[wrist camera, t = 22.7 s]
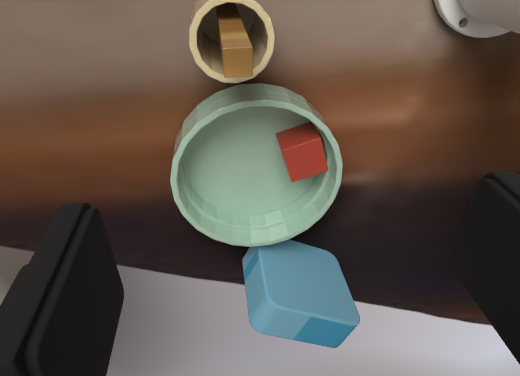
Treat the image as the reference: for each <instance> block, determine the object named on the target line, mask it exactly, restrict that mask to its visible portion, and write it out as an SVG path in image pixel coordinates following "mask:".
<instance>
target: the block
mask: <svg viewBox="0 0 520 376" xmlns="http://www.w3.org/2000/svg"><path fill="white" fill-rule="evenodd" d="M276 136H277V140H278V143H279V146H280V149H281V152H282V155H283V158H284V161H285V165H286V167H287V170H288V173H289V176H290V179H291V182H295V181H298V180H301V179H304V178H307V177H311V176H314V175H317V174H320V173H323V172H326V171H329V169H328V165H327V161H326V157H325V153H324V149H323V145H322V141H321V137H320V136H319V134H318V132H317V130H316V128H315V127H314V125H313V123H312V122H308V123H305V124H302V125H299V126H296V127H293V128H290V129H287V130H284V131H281V132H278V133H276Z"/></svg>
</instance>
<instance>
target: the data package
mask: <svg viewBox="0 0 520 376" xmlns="http://www.w3.org/2000/svg"><path fill="white" fill-rule="evenodd" d="M242 262H243V271H244V280H245V289H246V298H247V306H248V314H249V315H248V316H249V321H250V323H251V325H252V327H253V328H254V329H255V330H257V331H258V332H260V333H262V334H267V335H272V336H277V337H282V338H287V339H292V340H297V341H302V342H307V343H312V344H317V345H321V346H326V347H332V348H336V347H338V346H339V345H340V344H341V343H342V342H343V341H344V340H345V339H346V338H347V336H348V335H349V334H350V333H351V332H352V331H353V330H354V328H355V327H356V326H357V325H358V324H359V321H360V316H359V314H358V311H357V309H356V306H355V303H354V301H353V298H352V296H351V293H350V291H349V288H348V286H347V283H346V281H345V278H344V276H343V273H342V271H341V268H340V266H339V263H338V261H337V259H336V258H335V256H334V255H333V254H331V253H330V252H328V251H326V250H323V249H320V248H316V247H313V246H309V245H306V244H303V243H299V242H296V241H293V240H289V239H288V240H285V241H281V242H278V243H275V244H271V245H263V246H254V247H249V249H248V251H247V252H246V254H245V256H244V258H243V261H242Z"/></svg>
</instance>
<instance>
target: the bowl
mask: <svg viewBox="0 0 520 376" xmlns="http://www.w3.org/2000/svg"><path fill="white" fill-rule="evenodd" d="M308 122H312V123H313V125H314V127H315V128H316V130H317V132H318V134H319V136H320V137H321V141H322V145H323V149H324V153H325V157H326V161H327V165H328V169H329V171H326V172H323V173H320V174H317V175H314V176H311V177H307V178H304V179H301V180H298V181H295V182H291V179H290V176H289V173H288V170H287V167H286V165H285V161H284V158H283V155H282V152H281V149H280V146H279V143H278V140H277V136H276V133H278V132H281V131H284V130H287V129H290V128H293V127H296V126H299V125H302V124H305V123H308ZM342 168H343V163H342V158H341V154H340V149H339V145H338V143H337V142H336V140H335V138H334V137H333V135H332V133H331V131H330V130H329V128H328V126H327V125H326V123H325V121H324V120H323V118H322V117H321V115H320V113H319V112H318V110H317V109H316V108H315V107H314V106H312V105H311V104H310V103H309V102H308V101H307V100H306V99H305V98H304V97H302V96H301V95H299V94H297V93H295V92H293V91H290V90H288V89H286V88H283V87H280V86H275V85H270V84H264V83H253V84H240V85H236V86H233V87H230V88H227V89H224V90H221V91H218V92H216V93H214V94H213V95H211V96H210V97H208V98H207V99H205V100H204V101H203V102H201V103H200V104H198V105H197V106H196V107H195V109H194V110H193V111H192V112H191V113H190V114H189V116H188V117H187V118H186V119H185V120H184V122H183V124H182V126H181V128H180V131H179V133H178V135H177V137H176V140H175V147H174V154H173V161H172V169H171V178H170V182H171V187H172V192H173V197H174V200H175V202H176V204H177V206H178V208H179V209H180V211H181V213H182V215H183V216H184V217H185V218H186V219H187V220H188V221H189V222H190V223H191V224H192V225H193V226H194V227H195V228H196V229H197V230H198V231H200V232H202V233H203V234H205V235H207V236H209V237H210V238H212V239H214V240H217V241H221V242H224V243H227V244H230V245H237V246H248V247H254V246H263V245H271V244H275V243H278V242H281V241H285V240H288V239H290V238H293V237H294V236H296V235H298V234H300V233H302V232H304V231H305V230H307V229H309V228H310V227H311V226H312V225H313V224H314V223H316V222H317V221H318V220H319V219H320V218H321V217H322V216H323V215H324V214H325V212H326V211H327V210H328V208H329V207H330V206H331V204H332V203H333V202H334V199H335V197H336V194H337V192H338V189H339V187H340V184H341V178H342Z"/></svg>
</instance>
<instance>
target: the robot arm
mask: <svg viewBox="0 0 520 376" xmlns="http://www.w3.org/2000/svg"><path fill="white" fill-rule="evenodd" d="M434 3H435V6H436V8H437V10H438V13H439V15H440V16H441V18H442V19H443V20H444V22H445V23H446V24H447V25H448V26H450V27H451V28H452V29H454V30H455V31H457V32H459V33H462V34H464V35H467V36H471V37H474V38H489V37H495V36H499V35H502V34H505V33H507V32H510V31H513V32H516V33H519V34H520V0H434ZM451 266H452V268H453V270H454V272H455V273H456V275H457V276H458V278H459V279H460V280H461V282H462V283H463V285H464V286H465V288H466V289H467V290H468V292H469V293H470V295H471V296H472V297H473V299H474V300H475V302H476V303H477V305H478V306H479V307H480V309H481V310H482V312H483V313H484V314H485V316H486V317H487V319H488V320H489V322H490V323H491V324H492V326H493V327H494V329H495V330H496V331H497V333H498V334H499V336H500V337H501V339H502V340H503V341H504V343H505V344H506V346H507V347H508V348H509V350H510V351H511V353H512V354H513V355H514V357H515V358H516V359H517V361H518V363H519V364H520V176H519V175H517V174H516V173H514V172H495V173H488V174H486V175H485V176H484V177H483V178H482V179H481V180H479V181H478V182H477V184H476V187H475V190H474V192H473V195H472V198H471V201H470V204H469V207H468V210H467V212H466V215H465V218H464V221H463V224H462V227H461V230H460V233H459V235H458V238H457V241H456V244H455V247H454V250H453V253H452V256H451ZM123 299H124V290H123V285H122V282H121V278H120V275H119V272H118V269H117V266H116V262H115V259H114V256H113V253H112V249H111V246H110V243H109V240H108V236H107V233H106V230H105V227H104V224H103V220H102V217H101V214H100V211H99V210H98V209H97V208H91V206H90V205H89V203H76V204H63V205H61V206H60V207H59V208H58V210H57V212H56V214H55V216H54V218H53V219H52V221H51V223H50V225H49V227H48V229H47V231H46V232H45V234H44V236H43V238H42V240H41V242H40V244H39V245H38V247H37V249H36V251H35V253H34V255H33V257H32V259H31V260H30V262H29V264H27V265H25V266H23V268H22V269H21V270H20V271H19V273H18V275H17V277H16V278H15V280H14V282H13V284H12V285H11V288H10V289H9V291H8V293H7V295H6V296H5V298H4V300H3V302H2V304H1V306H0V376H106V374H107V369H108V365H109V360H110V356H111V352H112V348H113V344H114V339H115V335H116V331H117V326H118V322H119V318H120V313H121V309H122V305H123Z"/></svg>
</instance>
